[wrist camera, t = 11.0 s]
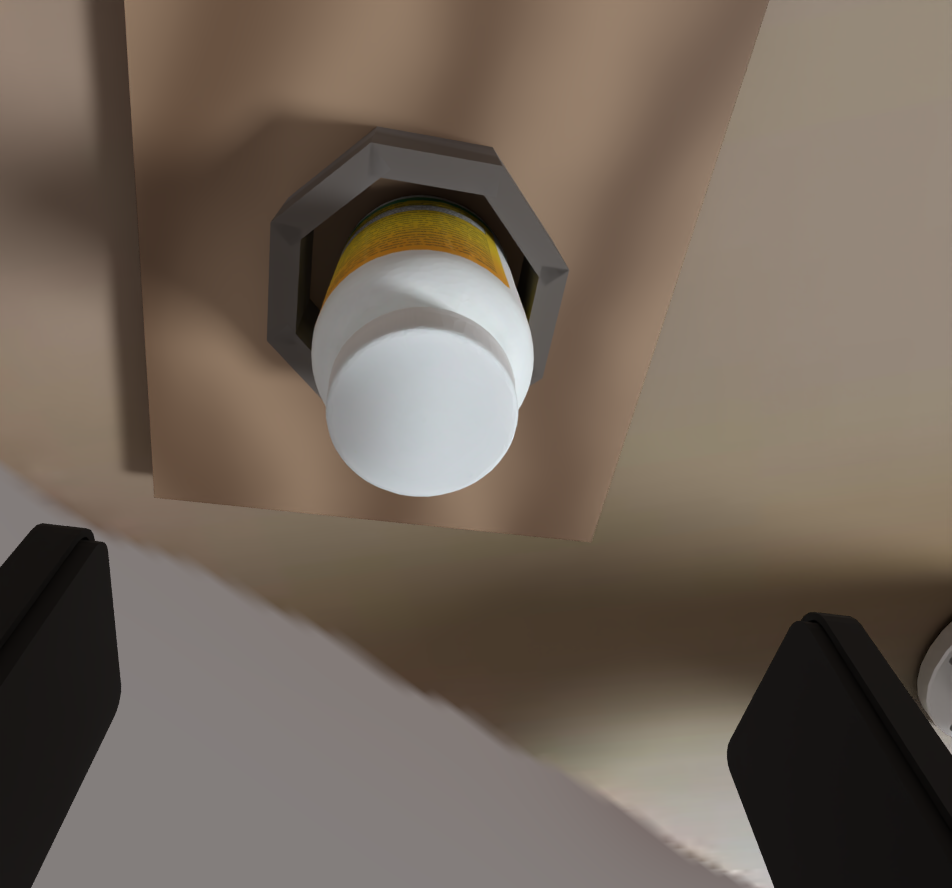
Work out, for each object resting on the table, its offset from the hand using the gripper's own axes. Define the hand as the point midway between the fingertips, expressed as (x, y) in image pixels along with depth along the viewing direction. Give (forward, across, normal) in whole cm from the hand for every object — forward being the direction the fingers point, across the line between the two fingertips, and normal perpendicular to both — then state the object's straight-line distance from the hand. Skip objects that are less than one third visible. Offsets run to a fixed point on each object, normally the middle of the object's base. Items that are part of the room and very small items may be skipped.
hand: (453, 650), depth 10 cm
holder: (+17, +1, 0) cm, 17 cm away
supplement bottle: (+16, +1, 0) cm, 16 cm away
